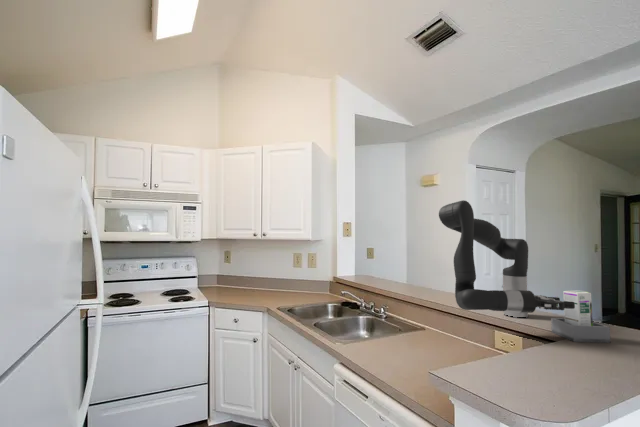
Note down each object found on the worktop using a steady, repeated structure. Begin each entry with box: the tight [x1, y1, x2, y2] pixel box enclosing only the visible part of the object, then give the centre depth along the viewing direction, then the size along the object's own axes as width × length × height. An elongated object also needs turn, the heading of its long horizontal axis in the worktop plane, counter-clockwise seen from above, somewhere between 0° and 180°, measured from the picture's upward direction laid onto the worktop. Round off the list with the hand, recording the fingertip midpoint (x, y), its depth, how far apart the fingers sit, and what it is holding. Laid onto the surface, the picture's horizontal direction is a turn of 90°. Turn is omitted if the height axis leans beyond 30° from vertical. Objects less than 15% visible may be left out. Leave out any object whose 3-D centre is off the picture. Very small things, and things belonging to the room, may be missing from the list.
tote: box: [550, 317, 611, 344], centre depth 121 cm, size 12×12×5 cm
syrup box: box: [562, 290, 594, 326], centre depth 121 cm, size 6×6×14 cm
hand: (566, 302), depth 122 cm, fingers open, 8 cm apart
